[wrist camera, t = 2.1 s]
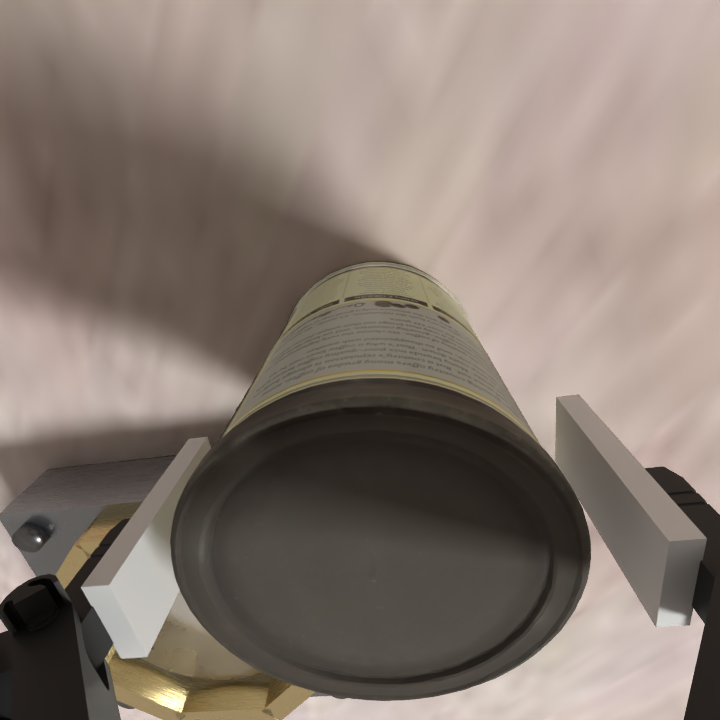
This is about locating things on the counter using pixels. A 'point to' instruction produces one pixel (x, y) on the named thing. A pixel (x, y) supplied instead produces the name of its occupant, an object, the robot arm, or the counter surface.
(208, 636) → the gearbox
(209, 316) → the counter surface
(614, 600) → the counter surface
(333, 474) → the coffee can
